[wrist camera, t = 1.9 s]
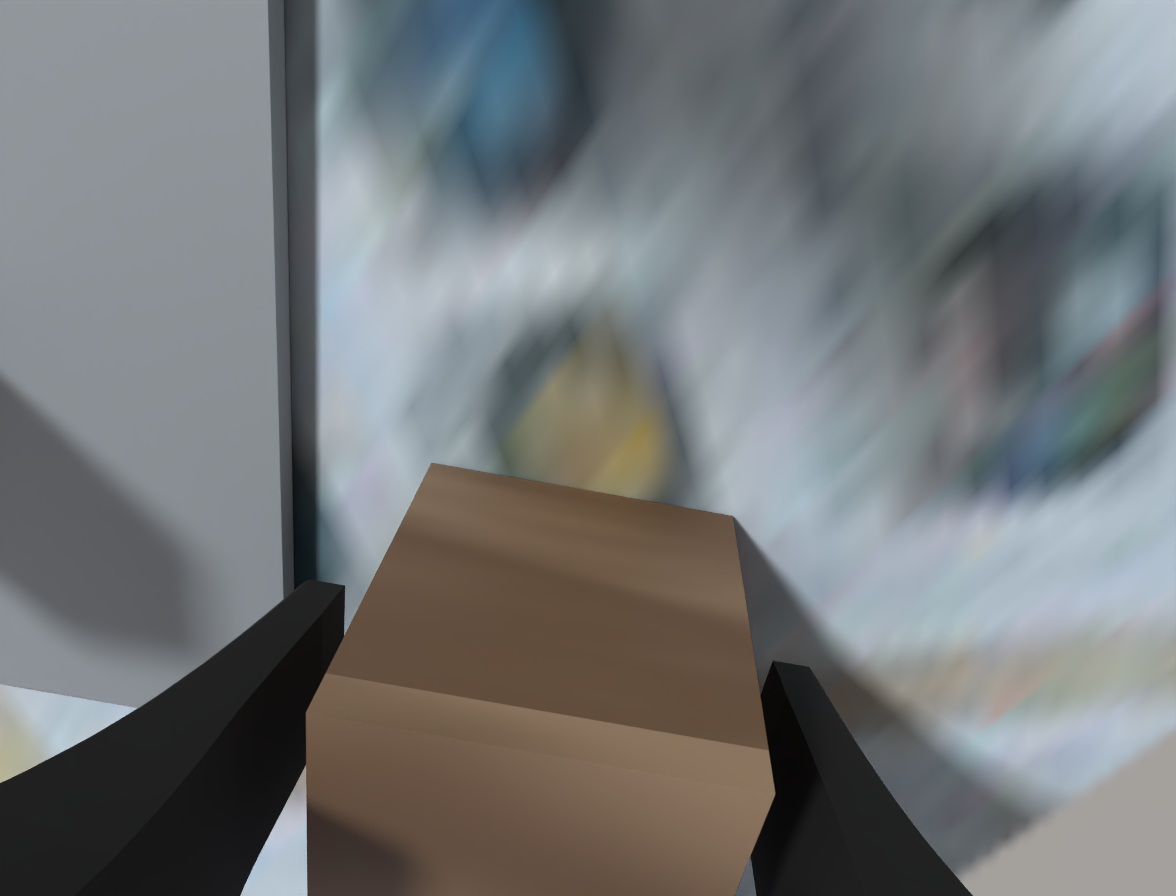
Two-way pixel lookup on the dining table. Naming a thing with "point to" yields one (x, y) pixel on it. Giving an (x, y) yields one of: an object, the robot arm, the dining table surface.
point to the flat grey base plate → (141, 339)
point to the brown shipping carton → (541, 703)
